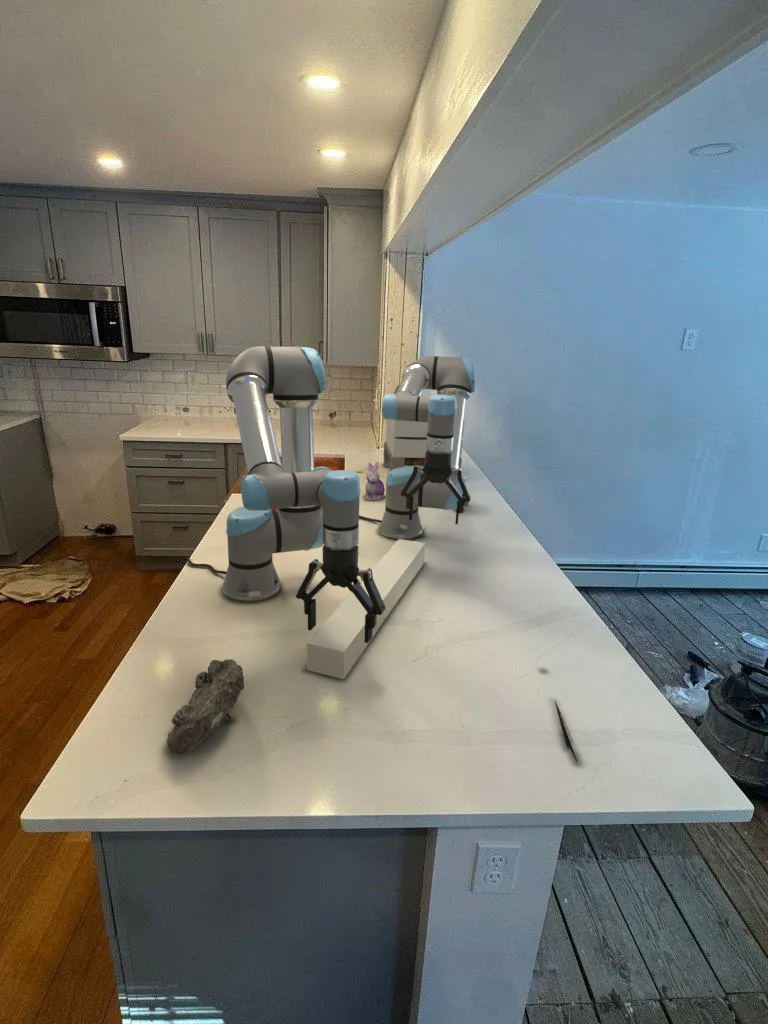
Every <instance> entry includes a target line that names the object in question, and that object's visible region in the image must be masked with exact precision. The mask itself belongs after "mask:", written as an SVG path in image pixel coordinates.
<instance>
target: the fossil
mask: <svg viewBox="0 0 768 1024" xmlns="http://www.w3.org/2000/svg"><path fill="white" fill-rule="evenodd" d="M243 670H244V669H243V667H242V665H240V664H237V662H236V661H235V660H234V659H232V658H231V659H227V658H226V659H224V660H223V661H222V660H217V659H212V660H211V661H210V663H209V665H208V666H207V671H201V672H199V673H198V674H197V675H196V676H195V680H194V684H195V685H194V687H195V689H194V690H193V693H192V694H191V697H190V698H189V700H188V704H184V705H182V706H181V707H180V709H177V710H176V711H175V713H174V715H173V716H172V718H171V723H172V724H173V727H172V730H171V731H170V732H168V734H167V738H166V741H167V742H166V745H167V749H168V750H169V751H173V752H174V753H176V754H178V753H182V752H188V751H189V752H192V751H193V750H195V748H196V747H197V746H199V744H200V743H201V742H203V741H204V740H205V739H206V738H207V737H208V736H209V735H210V734H211V733H212V732H214V730H215V729H217V727H218V726H219V724H220V722H221V721H222V720H223V719H224V718H225V716H226V717H227V719H229V720H233V717H232V715H230V714H229V710H230V709H231V708H234V706H235V704H236V703H237V702H238V699H239V697H240V695H241V693H242V691H243V690H245V689H244V688H245V675H244V671H243Z"/></svg>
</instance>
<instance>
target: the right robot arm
mask: <svg viewBox="0 0 768 1024" xmlns="http://www.w3.org/2000/svg"><path fill="white" fill-rule="evenodd" d="M475 370H476V369H475V361H474V359H472V358H469V357H462V356H460V357H457V356H442V355H441V356H439V355H427V356H423V357H420V358H417V359H416V360H413V361H412V362H410V363H409V364H408V365H407V366H406V367H405V368H404V370H403V372H402V374H401V375H402V376H401V381H400V384H399V385H400V386H399V387H398V389H397V391H396V393H395V394H394V393H387V394H384V396H383V397H382V401H381V416H382V417H383V419H385V420H386V419H390V420H394V421H396V420H398V421H414V422H426V423H428V429H427V439H426V449H427V451H426V454H425V465H424V466H418V465H415V466H404V467H400V468H396V469H393V470H391V471H390V470H389V472H388V473H387V475H386V482H385V504H384V505H385V507H384V508H385V509H384V513H383V515H382V519H376V518H370V517H367V516H362V515H360V514H359V519H362V520H365V521H369V522H373V523H377V524H378V523H379V525H378V533H379V534H380V535H381V536H382V537H385V538H387V539H389V540H395V541H397V540H398V539H403V540H409V541H412V540H415V539H418V538H420V537H421V536H422V535H423V525H422V524H421V518H420V515H419V508H428V509H438V510H443V511H446V510H449V511H455V521H454V522H455V525H456V526H458V525H459V516H460V514H463V513H464V511H463V508H465V507H464V503H465V502H469V503H470V502H471V500H472V499H471V494H470V492H469V490H468V487H467V485H466V477H465V476H463V471H462V467H461V468H459V467H458V464H459V454H460V445H461V440H462V438H461V435H462V426H463V419H464V417H465V416H464V415H465V406H466V401H468V399H470V398H471V394H473V393H475V391H476V371H475ZM424 390H434V391H436V394H433V395H431V396H423V395H422V393H423V391H424ZM462 494H464V496H465V497H463V496H462ZM456 509H457V510H456Z"/></svg>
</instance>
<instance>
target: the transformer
mask: <svg viewBox="0 0 768 1024" xmlns="http://www.w3.org/2000/svg"><path fill="white" fill-rule="evenodd" d="M399 386H400V384H398V385H397V386H396V388H395V390H394V392H393V394H395V393H396V391H397V389H398V387H399ZM385 423H386V428H385V438H384V442H383V466H384V467H388V468H389V472H390V471H391V470H393V469H396V468H400V467H405V466H406V467H414V466H415V465H418V466H420V467H424V465H425V454H426V451H427V449H426V439H427V429H428V423H426V422H414V421H398V420H396V421H394V420H390V419H385ZM464 429H465V419H464V418H463V426H462V435H461V445H460V454H459V464H458V467H459V468H461V469H462V461H463V460H462V453H463V442H464V441H463V440H462V439H463V438H464V431H465V430H464Z"/></svg>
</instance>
